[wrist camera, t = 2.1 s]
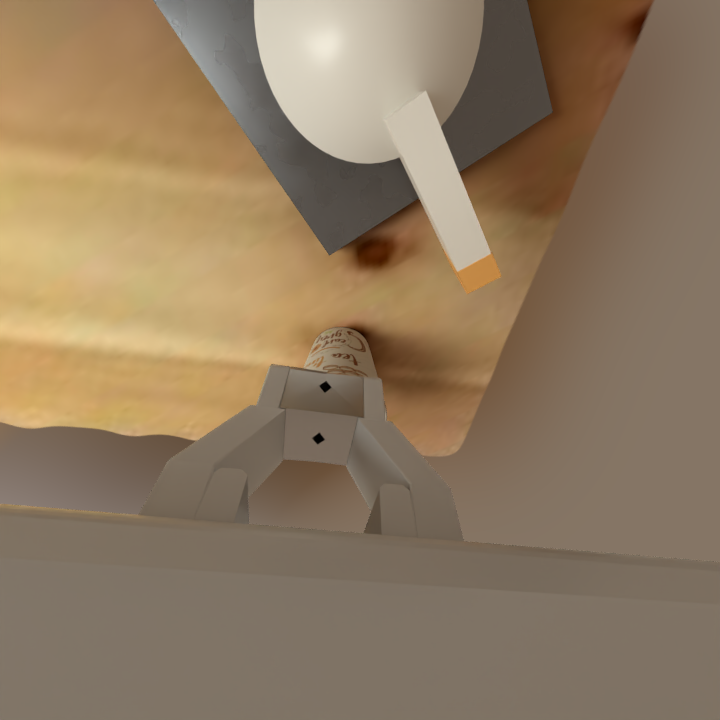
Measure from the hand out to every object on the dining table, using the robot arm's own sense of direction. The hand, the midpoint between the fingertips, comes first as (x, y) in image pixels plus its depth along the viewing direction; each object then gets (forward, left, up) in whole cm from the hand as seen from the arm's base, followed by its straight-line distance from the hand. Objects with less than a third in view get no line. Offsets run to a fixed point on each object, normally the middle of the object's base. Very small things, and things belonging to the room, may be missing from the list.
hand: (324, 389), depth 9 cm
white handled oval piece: (-3, +6, -17) cm, 18 cm away
